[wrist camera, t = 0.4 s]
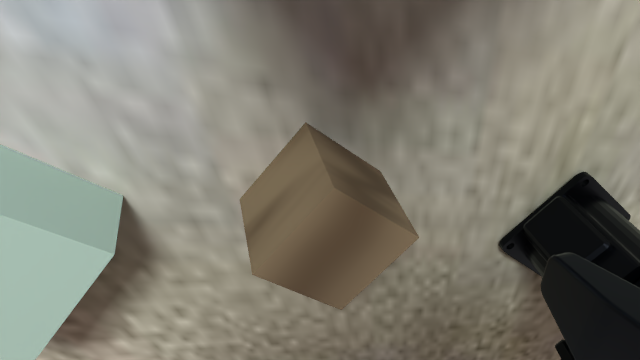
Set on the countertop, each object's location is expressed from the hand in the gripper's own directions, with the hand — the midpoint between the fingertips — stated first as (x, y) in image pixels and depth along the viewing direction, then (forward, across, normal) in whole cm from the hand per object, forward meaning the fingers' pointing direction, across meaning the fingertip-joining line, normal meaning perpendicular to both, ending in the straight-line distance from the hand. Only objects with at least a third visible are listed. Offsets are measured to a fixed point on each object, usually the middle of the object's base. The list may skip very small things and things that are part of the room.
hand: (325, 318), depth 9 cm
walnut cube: (+13, -2, +7) cm, 15 cm away
